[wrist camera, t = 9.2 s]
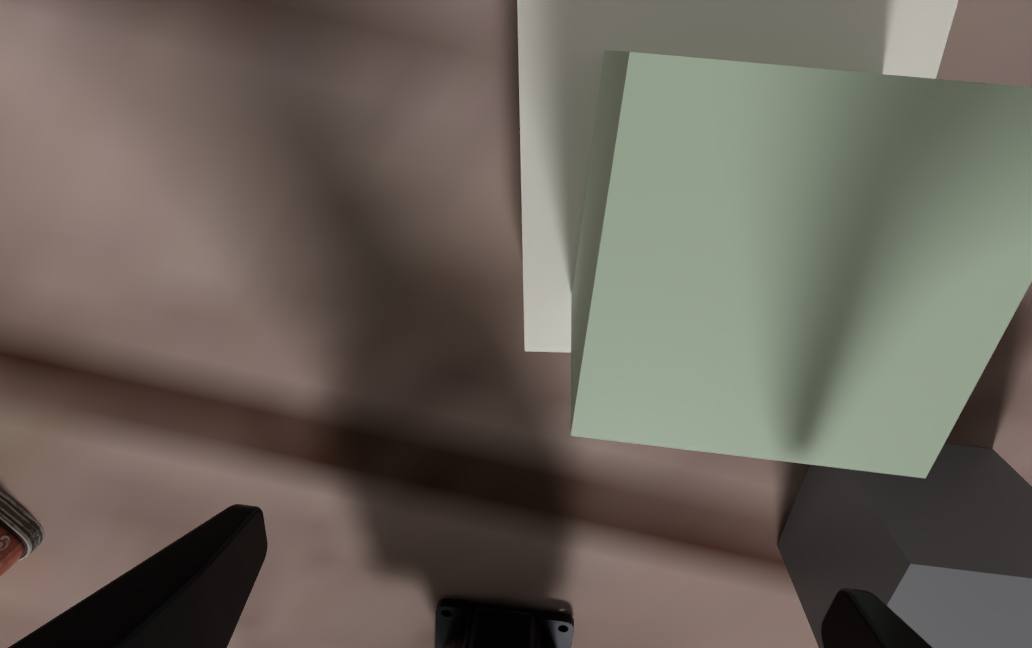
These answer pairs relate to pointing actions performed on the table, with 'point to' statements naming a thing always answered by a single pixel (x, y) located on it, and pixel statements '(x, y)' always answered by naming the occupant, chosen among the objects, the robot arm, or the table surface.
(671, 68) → the sage block
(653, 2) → the base block
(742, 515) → the table surface
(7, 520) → the lighter
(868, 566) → the charcoal block
